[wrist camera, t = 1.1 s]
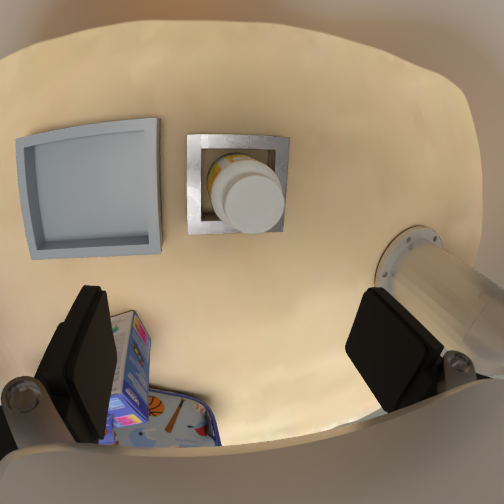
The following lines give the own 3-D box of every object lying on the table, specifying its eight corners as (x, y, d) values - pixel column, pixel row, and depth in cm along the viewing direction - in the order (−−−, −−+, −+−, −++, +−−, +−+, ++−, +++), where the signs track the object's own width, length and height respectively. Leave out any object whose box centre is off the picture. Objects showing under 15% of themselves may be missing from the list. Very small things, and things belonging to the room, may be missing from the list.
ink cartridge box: (91, 360, 32) (71, 451, 19) (69, 329, 30) (35, 421, 17) (154, 343, 33) (151, 445, 20) (134, 308, 30) (116, 413, 18)
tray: (160, 119, 23) (156, 117, 21) (163, 241, 28) (161, 254, 26) (30, 136, 20) (15, 138, 18) (42, 248, 25) (31, 259, 23)
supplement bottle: (242, 142, 26) (269, 148, 17) (271, 187, 28) (308, 214, 20) (194, 174, 26) (197, 195, 18) (225, 217, 29) (243, 258, 20)
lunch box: (228, 390, 39) (263, 528, 19) (210, 426, 42) (233, 542, 22) (43, 349, 30) (-3, 487, 10) (50, 393, 33) (24, 510, 14)
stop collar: (281, 136, 26) (289, 137, 24) (275, 223, 30) (282, 231, 28) (187, 134, 25) (187, 134, 22) (187, 226, 28) (187, 234, 26)
